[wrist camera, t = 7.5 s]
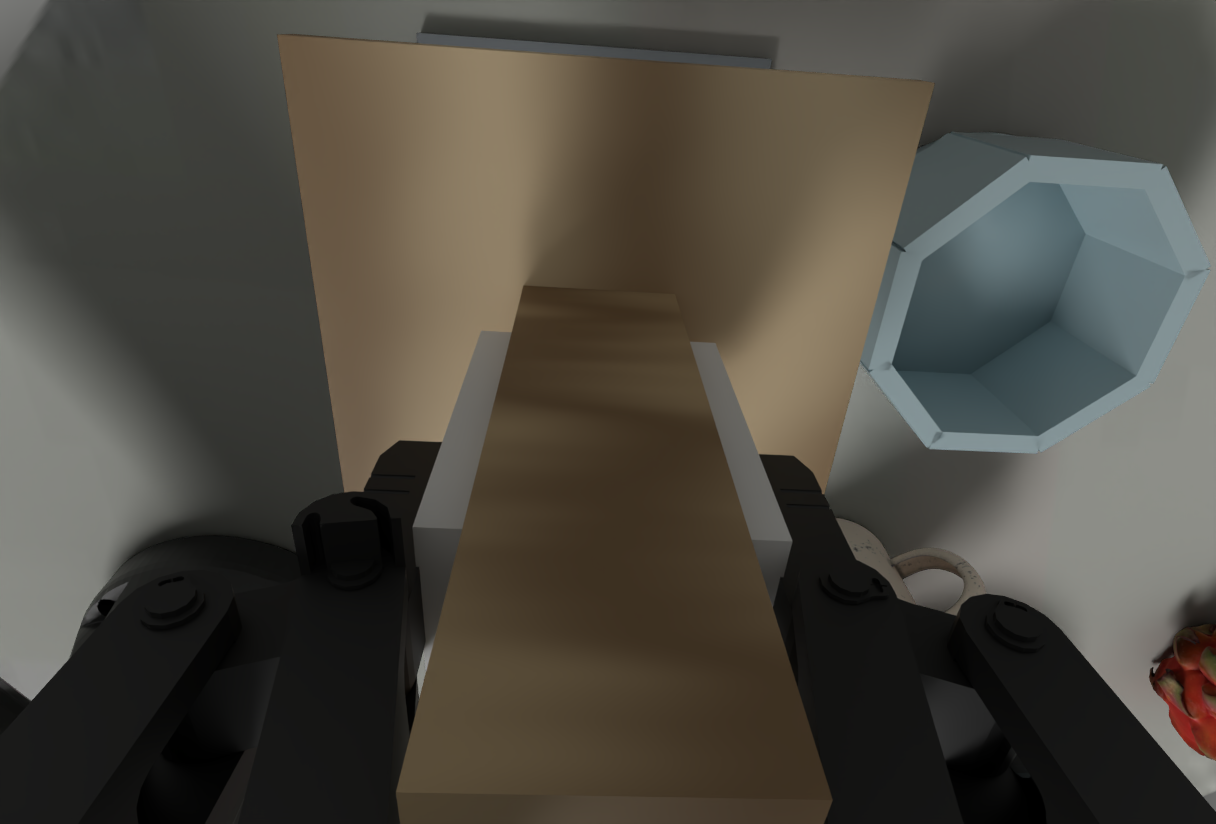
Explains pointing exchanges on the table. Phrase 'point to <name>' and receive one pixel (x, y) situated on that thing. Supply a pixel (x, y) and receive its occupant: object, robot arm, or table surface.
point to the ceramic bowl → (1028, 289)
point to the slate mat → (593, 50)
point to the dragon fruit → (1191, 687)
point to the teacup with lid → (909, 563)
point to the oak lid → (598, 393)
